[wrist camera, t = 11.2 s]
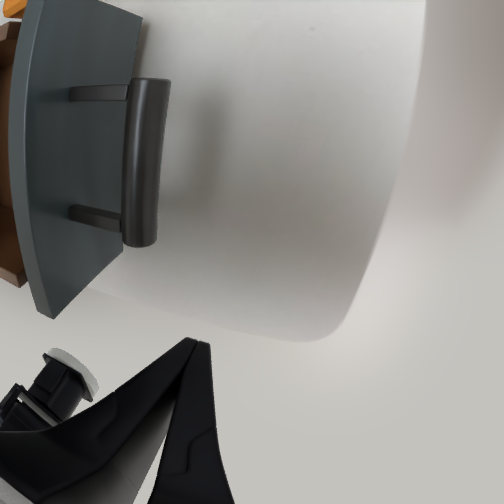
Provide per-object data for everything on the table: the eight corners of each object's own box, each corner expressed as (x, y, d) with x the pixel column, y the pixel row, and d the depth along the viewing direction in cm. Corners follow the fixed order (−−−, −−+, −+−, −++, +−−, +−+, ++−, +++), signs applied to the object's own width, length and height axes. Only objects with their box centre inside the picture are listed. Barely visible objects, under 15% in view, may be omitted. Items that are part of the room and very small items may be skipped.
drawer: (223, 15, 10) (157, -47, 4) (187, 268, 16) (131, 355, 10) (8, 50, 11) (-64, 58, 5) (7, 215, 17) (-52, 254, 11)
